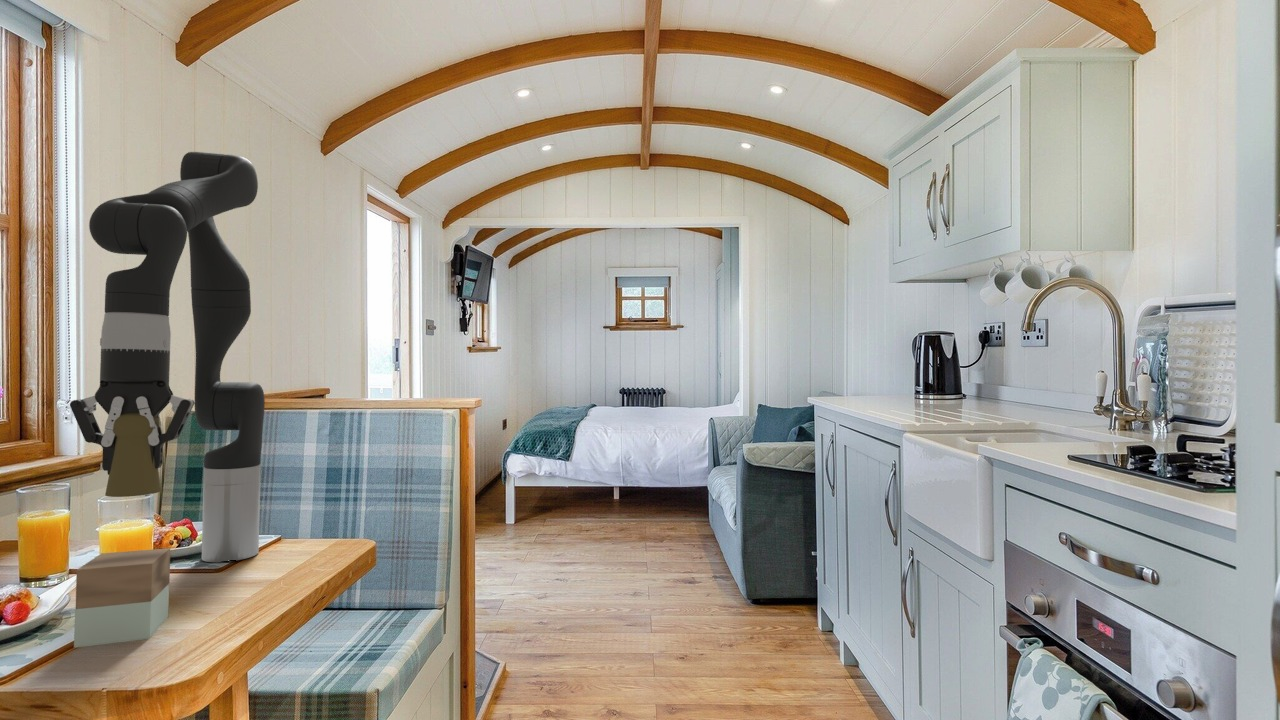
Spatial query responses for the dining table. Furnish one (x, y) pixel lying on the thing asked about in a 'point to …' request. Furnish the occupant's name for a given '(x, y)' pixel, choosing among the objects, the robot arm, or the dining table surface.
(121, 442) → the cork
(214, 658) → the dining table surface
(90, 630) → the tower base block
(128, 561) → the tower top block
